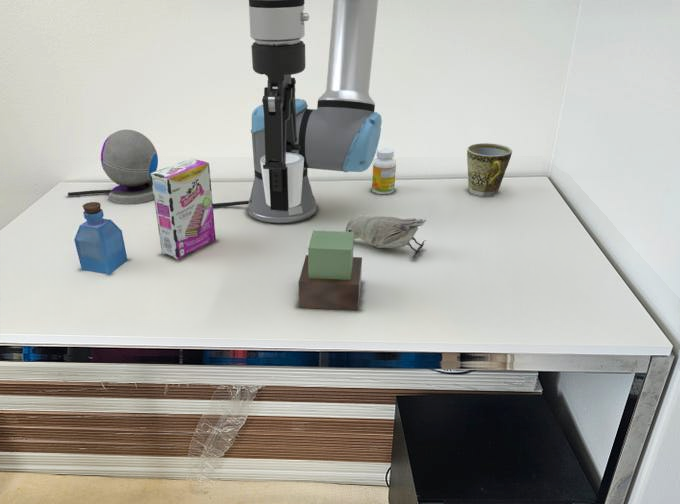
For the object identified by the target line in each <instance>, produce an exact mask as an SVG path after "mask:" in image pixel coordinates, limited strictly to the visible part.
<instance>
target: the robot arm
mask: <svg viewBox="0 0 680 504" xmlns="http://www.w3.org/2000/svg"><path fill="white" fill-rule="evenodd" d="M378 4H379V0H333V1H332V14H331V24H330V37H329V49H328V62H327V63H328V64H327V75H326V76H327V77H326V87H325V91H324V93H323V94H321V96H320V97H318V98H317V105H316V109H313V108H308V107H309V106H308V105H309V104H308V103H307V101H306V100H305V99H303V98H302V99H301V98H296V83H297V80H296V78H295V77H292V75H297V74H300V73H302V72H304V71H305V70H306V44H305V42H304V41H303V40H301V39H303V38H304V37H305V35H306V34H305V33H306V32H305V27H306V26H305V22H308V21H309V20H310V15H309V13H308V12H304V10H305V0H248V13H249V15H248V17H249V36H250V38H251V39H252V40H254V42H252V45H251V46H250V47H251V63H252V70H253V71H254V72H255V73H256V74H258V75H264V76H266V78H267V86H265V87H264V89H263V96H262V99H261V103H262V104H260V105H259V106H257V107H255V108H254V110H253V111H252V113H251V129H250V133H251V142H252V143H251V145H252V154H253V155H252V156H253V171H254V179H253V184H252V187H251V191H250V195H249V196H250V197H249V199H248V200H239V201H237V200H236V201H229V202H216V203H213V208H219V207H222V208H223V207H232V206H233V207H234V206H245V205H248V214H249V216H250V217H252V218H253V219H255V220H257V221H260V222H263V223H267V224H268V223H269V224H291V223H297V222H302V221H304V220H307V219H309V218H311V217H313V216H314V215H315V213H316V212H317V202H316V198H315V196H314V193H313V189H312V185H311V183H310V180H309V176H308V172H309V171H308V169H313V170H323V171H334V172H343V173H363V172H365V171H367V170H368V169H369V168H370V166H371V164H373V162H374V160H375V156H376V154H377V150H378V146H379V142H380V137H381V131H382V121H383V119H382V115H381V114H380V113H378V112H377V111H375V110H376V109H375V108H376V103H375V101H374V100H373V98H372V97H371V95H370V84H371V83H370V82H371V74H372V63H373V56H374V55H373V54H374V53H373V52H374V45H375V34H376V26H377V15H378V6H379V5H378ZM286 152H289V153H296V154H299V155H302V156H303V157H304V166H303V179H302V192H301V203H300V204H299V205H298V206H295V207H292V208H289V203H288V171H287V167H286ZM264 155H265V165H263V169H269V184H270V205H271V206H268V205H267V204H266V198H265V191H264V185H263V178H262V171H261V164H260V159H261V157H263V156H264ZM111 190H112V189H95V190H83V191H82V190H81V191H71V192H70V191H69V192H67V196H68V197H72V196H73V197H74V196H84V195H97V194H110V192H111Z"/></svg>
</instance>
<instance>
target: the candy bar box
mask: <svg viewBox="0 0 680 504" xmlns="http://www.w3.org/2000/svg"><path fill="white" fill-rule="evenodd" d="M150 174H151V180H152V187H153V194H154V199H153V200H154V206H155V207H154V208H155V213H156V222H157V229H158V234H159V242H160V249H161V254H162V255H164V256H166V257H169V258H171V259H174V260H176V261H179V260H181V259H183V258H185V257H187V256H188V255H190V254H193V253H195V252H197V251H198V250H201V249H203V248H204V247H206V246H209V245H210V244H213V243H214V242H216V240H217V239H216V227H215V216H214V207H213V204H214V203H213V194H212V183H211V182H212V181H211V169H210V162H207V161H204V160H200V159H196V158H189V159H186V160H184V161H181V162H179V163H176V164H173V165H170V166H167V167H164V168H162V169H159V170H158V169H157V170H156V172H153V173H150Z"/></svg>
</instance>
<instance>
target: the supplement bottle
mask: <svg viewBox="0 0 680 504" xmlns="http://www.w3.org/2000/svg"><path fill="white" fill-rule="evenodd" d="M394 157H395V150H394V149H393V148H391V147H380V148H377V150H376V158H374V159H373V161H372V179H371V183H372V184H371V191H372V192H373V193H374V194H378V195H389V194H392V193H394V191H395V185H396V172H397V161H396V160H395V158H394Z"/></svg>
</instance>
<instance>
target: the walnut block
mask: <svg viewBox="0 0 680 504" xmlns="http://www.w3.org/2000/svg"><path fill="white" fill-rule="evenodd" d="M362 268H363V257H360V256H359V257H358V256H353V265H352V273H351V280H340V279H317V278H309V273H308V254H306V255H305V256H304V261H303V263H302V267H301V272H300V275H299V278H298V308H301V309H302V308H304V309H320V310H321V309H322V310H341V311H359V306H360V296H361V286H362V270H363V269H362Z"/></svg>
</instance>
